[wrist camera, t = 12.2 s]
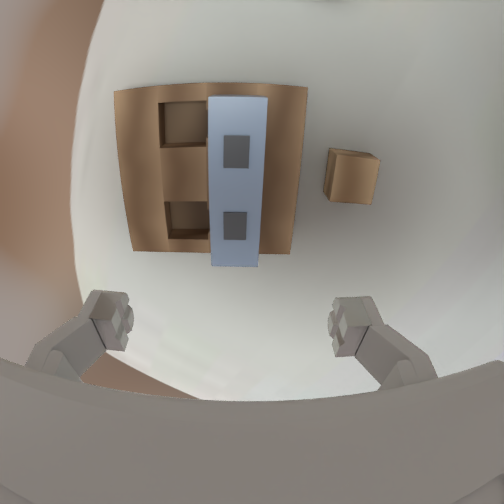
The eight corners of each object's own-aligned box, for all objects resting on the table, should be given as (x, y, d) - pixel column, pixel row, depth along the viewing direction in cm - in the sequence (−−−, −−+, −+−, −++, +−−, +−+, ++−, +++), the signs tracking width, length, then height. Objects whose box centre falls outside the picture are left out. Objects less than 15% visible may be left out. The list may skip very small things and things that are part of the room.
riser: (370, 153, 26) (380, 160, 24) (362, 194, 28) (371, 204, 26) (329, 148, 26) (336, 154, 24) (323, 191, 28) (329, 201, 26)
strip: (262, 94, 22) (268, 97, 17) (255, 236, 29) (257, 268, 25) (215, 93, 22) (207, 96, 17) (216, 235, 29) (211, 267, 25)
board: (300, 86, 22) (307, 87, 20) (285, 238, 31) (289, 254, 29) (126, 89, 22) (113, 91, 19) (141, 236, 30) (133, 251, 28)
